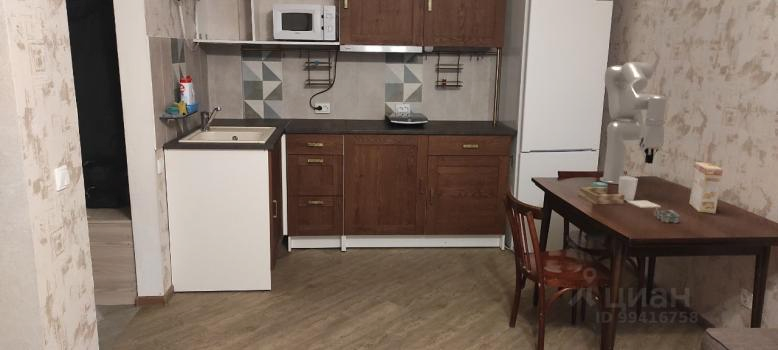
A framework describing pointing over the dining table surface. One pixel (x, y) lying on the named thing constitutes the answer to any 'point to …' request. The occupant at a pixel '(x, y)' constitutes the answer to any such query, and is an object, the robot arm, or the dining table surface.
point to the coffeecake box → (705, 187)
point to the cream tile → (644, 204)
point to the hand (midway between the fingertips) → (648, 162)
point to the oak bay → (600, 196)
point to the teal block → (599, 185)
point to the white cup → (627, 187)
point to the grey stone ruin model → (666, 215)
